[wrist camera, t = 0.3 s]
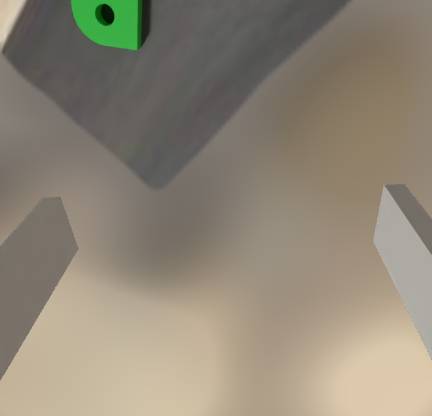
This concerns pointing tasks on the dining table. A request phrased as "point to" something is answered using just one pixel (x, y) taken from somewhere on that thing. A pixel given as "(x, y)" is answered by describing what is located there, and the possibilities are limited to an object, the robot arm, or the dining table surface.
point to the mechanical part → (105, 32)
